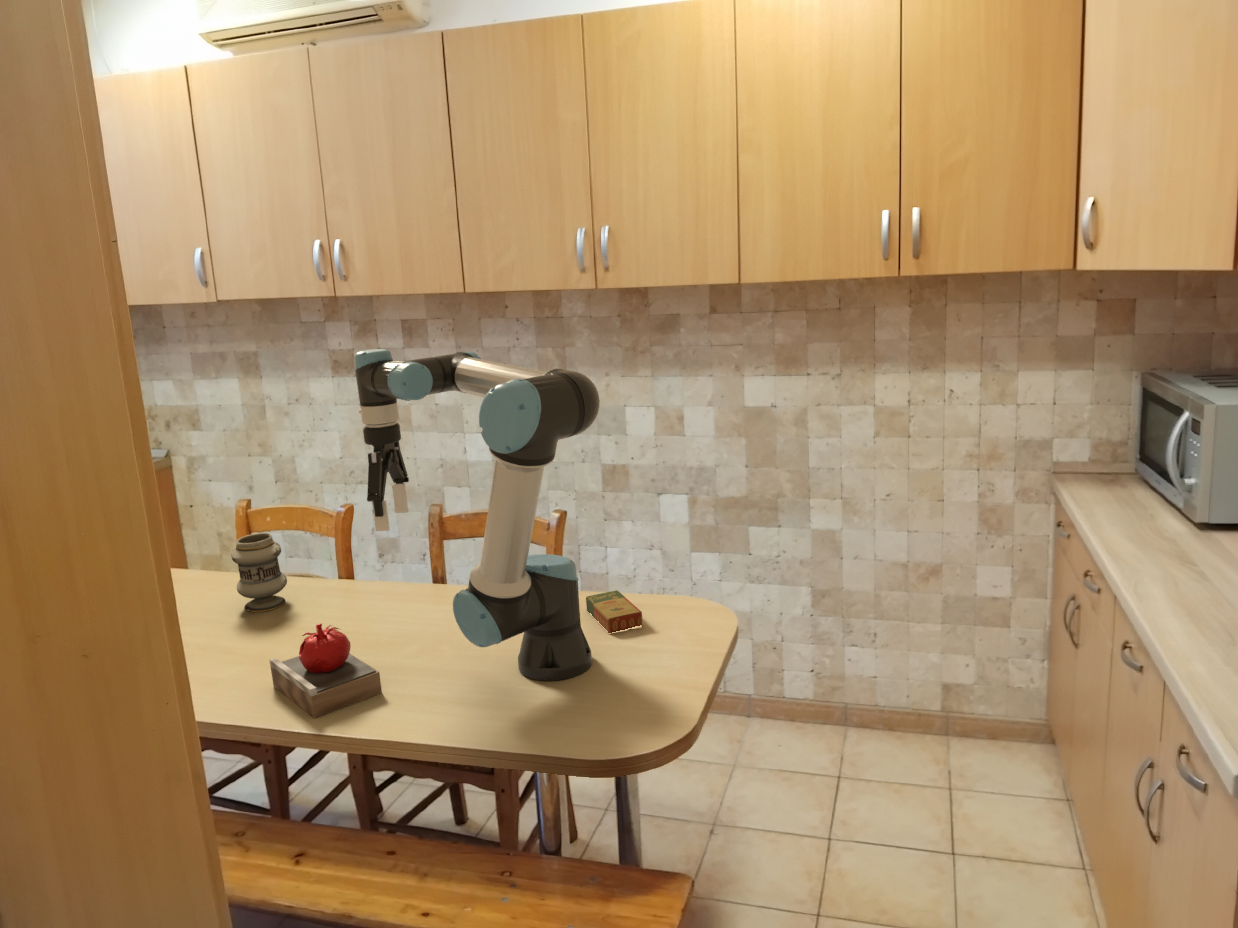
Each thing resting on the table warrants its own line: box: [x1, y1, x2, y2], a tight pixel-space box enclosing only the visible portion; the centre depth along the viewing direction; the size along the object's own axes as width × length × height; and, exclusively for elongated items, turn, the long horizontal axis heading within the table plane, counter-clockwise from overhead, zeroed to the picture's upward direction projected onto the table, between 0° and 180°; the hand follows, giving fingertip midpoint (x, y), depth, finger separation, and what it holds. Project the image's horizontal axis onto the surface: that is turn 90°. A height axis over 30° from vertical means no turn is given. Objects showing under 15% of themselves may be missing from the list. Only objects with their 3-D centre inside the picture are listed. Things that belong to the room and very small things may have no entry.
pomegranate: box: [298, 622, 352, 673], centre depth 188 cm, size 10×10×9 cm
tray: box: [269, 652, 383, 719], centre depth 189 cm, size 20×14×6 cm
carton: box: [585, 589, 643, 634], centre depth 217 cm, size 8×16×4 cm, turn 20°
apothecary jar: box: [230, 532, 288, 613], centre depth 238 cm, size 12×12×18 cm
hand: (392, 521), depth 203 cm, fingers open, 13 cm apart
